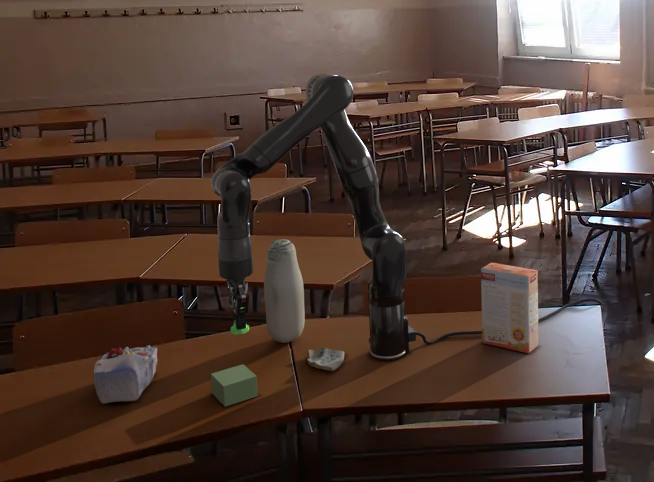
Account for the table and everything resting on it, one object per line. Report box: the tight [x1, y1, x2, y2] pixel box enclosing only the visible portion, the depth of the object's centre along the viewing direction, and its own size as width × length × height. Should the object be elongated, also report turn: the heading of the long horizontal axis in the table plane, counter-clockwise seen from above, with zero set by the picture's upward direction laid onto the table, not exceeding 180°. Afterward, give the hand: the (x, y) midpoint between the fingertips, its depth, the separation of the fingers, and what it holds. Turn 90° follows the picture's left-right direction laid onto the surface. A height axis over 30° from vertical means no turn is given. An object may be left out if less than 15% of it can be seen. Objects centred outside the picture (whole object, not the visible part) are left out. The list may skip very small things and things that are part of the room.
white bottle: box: [263, 239, 306, 344], centre depth 222 cm, size 10×10×28 cm
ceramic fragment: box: [306, 347, 345, 372], centre depth 210 cm, size 11×3×10 cm
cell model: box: [93, 345, 159, 405], centre depth 198 cm, size 13×11×20 cm
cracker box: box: [480, 262, 539, 354], centre depth 216 cm, size 14×6×21 cm, turn 58°
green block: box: [210, 364, 259, 408], centre depth 194 cm, size 8×8×5 cm
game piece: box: [230, 308, 250, 335], centre depth 192 cm, size 4×4×6 cm
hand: (239, 326), depth 192 cm, fingers closed on game piece, 2 cm apart
